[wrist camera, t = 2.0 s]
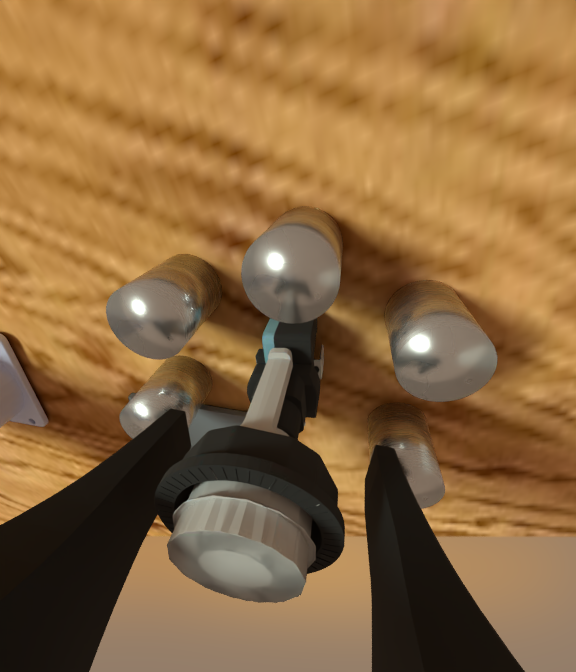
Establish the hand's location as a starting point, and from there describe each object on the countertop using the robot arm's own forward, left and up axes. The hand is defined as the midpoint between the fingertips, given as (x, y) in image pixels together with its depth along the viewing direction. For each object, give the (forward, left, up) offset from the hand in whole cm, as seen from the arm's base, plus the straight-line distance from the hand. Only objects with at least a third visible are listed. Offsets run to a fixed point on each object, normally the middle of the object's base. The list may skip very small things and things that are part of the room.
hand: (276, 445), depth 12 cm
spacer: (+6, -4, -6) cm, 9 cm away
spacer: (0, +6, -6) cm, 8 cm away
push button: (0, 0, -6) cm, 6 cm away
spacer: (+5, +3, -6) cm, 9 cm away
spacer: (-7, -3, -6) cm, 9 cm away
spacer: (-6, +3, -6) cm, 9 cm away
